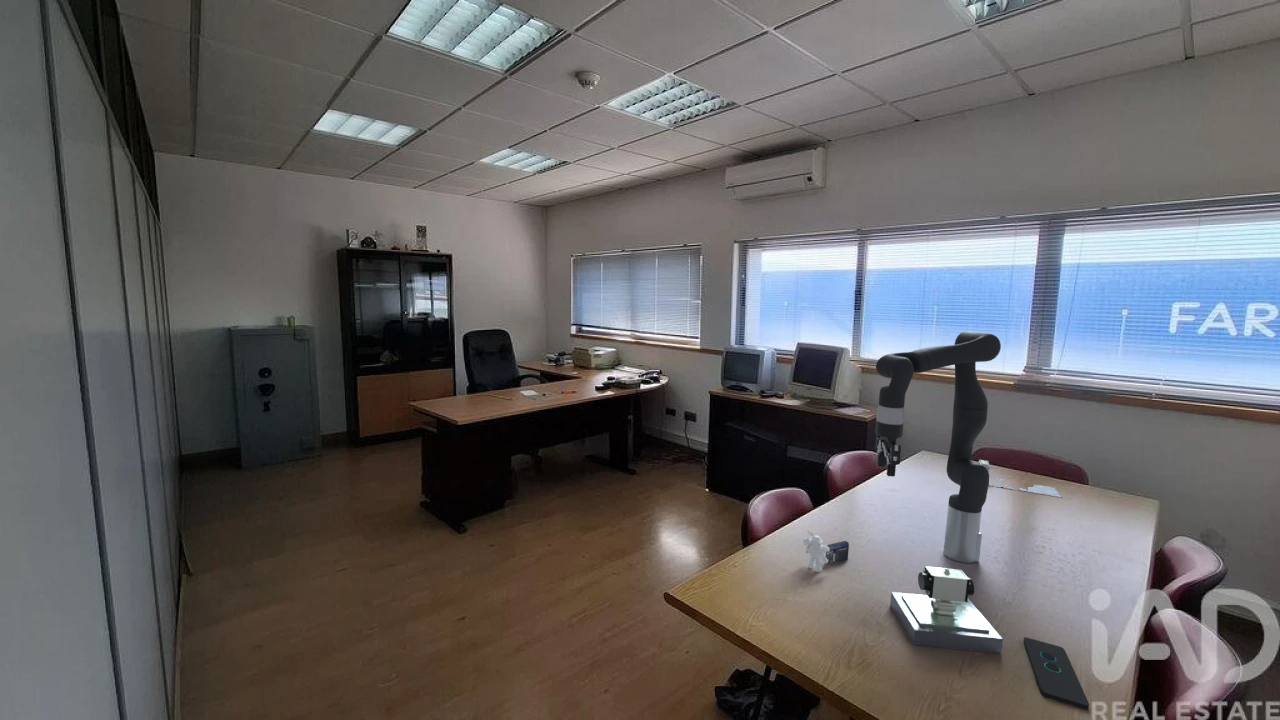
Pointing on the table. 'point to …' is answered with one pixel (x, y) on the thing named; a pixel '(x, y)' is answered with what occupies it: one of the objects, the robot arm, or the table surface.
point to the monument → (1034, 489)
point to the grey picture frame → (945, 625)
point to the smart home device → (1055, 673)
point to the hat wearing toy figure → (816, 551)
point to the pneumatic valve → (945, 588)
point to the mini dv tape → (837, 552)
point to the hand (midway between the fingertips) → (885, 471)
